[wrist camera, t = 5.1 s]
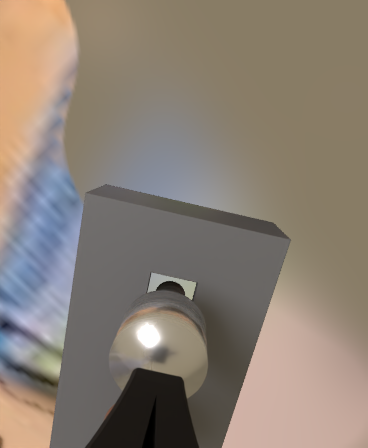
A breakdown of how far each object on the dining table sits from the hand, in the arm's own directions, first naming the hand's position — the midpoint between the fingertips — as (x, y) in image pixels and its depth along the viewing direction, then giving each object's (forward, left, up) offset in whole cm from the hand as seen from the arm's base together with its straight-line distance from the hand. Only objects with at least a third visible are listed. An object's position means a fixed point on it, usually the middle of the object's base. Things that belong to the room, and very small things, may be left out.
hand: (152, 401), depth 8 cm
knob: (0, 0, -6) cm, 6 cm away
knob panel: (-5, 0, -9) cm, 10 cm away
